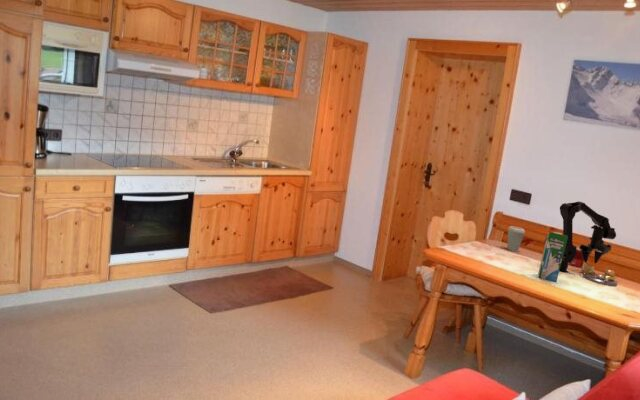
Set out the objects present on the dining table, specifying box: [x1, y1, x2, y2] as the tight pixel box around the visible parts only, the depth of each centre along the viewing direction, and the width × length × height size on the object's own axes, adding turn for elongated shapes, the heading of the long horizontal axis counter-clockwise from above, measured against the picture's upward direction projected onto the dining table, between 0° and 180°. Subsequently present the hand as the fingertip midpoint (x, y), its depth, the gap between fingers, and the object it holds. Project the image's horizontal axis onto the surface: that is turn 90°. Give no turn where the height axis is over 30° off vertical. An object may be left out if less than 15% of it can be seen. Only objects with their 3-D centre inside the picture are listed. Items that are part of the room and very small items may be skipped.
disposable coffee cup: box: [506, 225, 526, 252], centre depth 367 cm, size 11×11×15 cm
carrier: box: [582, 269, 618, 287], centre depth 322 cm, size 20×18×6 cm
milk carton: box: [537, 231, 568, 283], centre depth 301 cm, size 9×9×25 cm
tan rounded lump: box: [580, 263, 596, 275], centre depth 336 cm, size 7×7×5 cm
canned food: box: [568, 247, 585, 269], centre depth 354 cm, size 8×8×11 cm
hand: (590, 262), depth 336 cm, fingers open, 9 cm apart
